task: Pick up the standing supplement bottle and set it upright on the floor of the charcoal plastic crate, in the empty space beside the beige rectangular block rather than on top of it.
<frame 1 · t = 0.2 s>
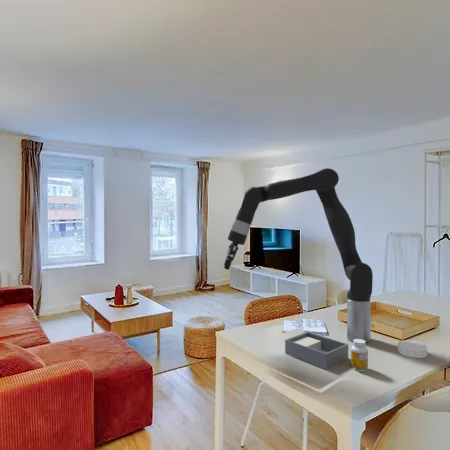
hand: (226, 267, 146), 31 cm above the table, tool tilted 20°, fingers open, 8 cm apart
coaster: (412, 354, 132), on the table
snack bag: (303, 329, 163), on the table
beige rectangular block: (305, 352, 132), point 1 cm above the table, touching crate
crate: (316, 357, 128), on the table
supplement bottle: (359, 369, 119), on the table
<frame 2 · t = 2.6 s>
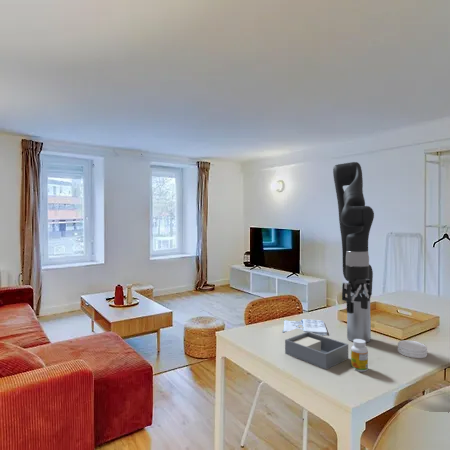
hand: (357, 310, 118), 20 cm above the table, tool pointing down, fingers open, 8 cm apart
nothing on the table moved.
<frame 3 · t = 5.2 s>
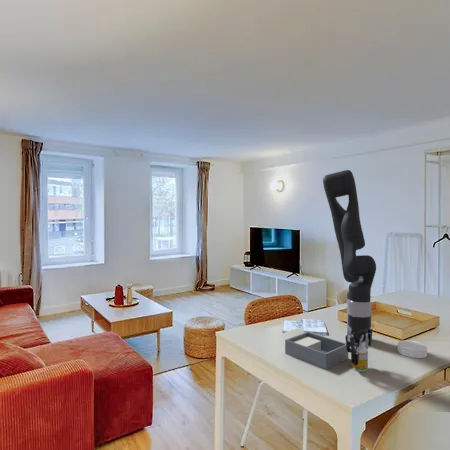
hand: (359, 361, 119), 3 cm above the table, tool pointing down, fingers closed on supplement bottle, 5 cm apart
supplement bottle: (359, 369, 119), on the table, touching gripper
everything else where it was.
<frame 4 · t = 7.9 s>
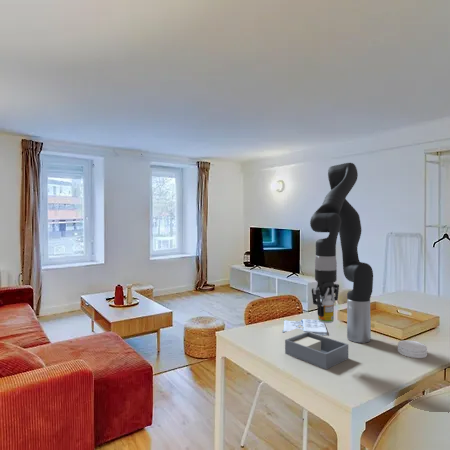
hand: (325, 314, 125), 17 cm above the table, tool pointing down, fingers closed on supplement bottle, 5 cm apart
supplement bottle: (325, 321, 125), point 15 cm above the table, touching gripper
everything else where it was.
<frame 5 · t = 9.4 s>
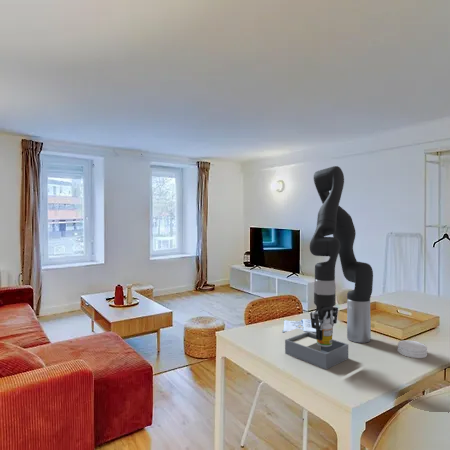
hand: (324, 337, 125), 9 cm above the table, tool pointing down, fingers closed on supplement bottle, 5 cm apart
supplement bottle: (324, 345, 125), point 6 cm above the table, touching gripper
everything else where it was.
when the fingers open (5 cm above the table, at t = 10.7 s): supplement bottle drops 2 cm, resting on crate.
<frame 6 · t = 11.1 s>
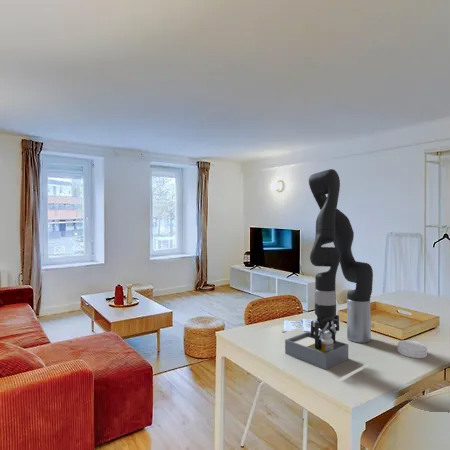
hand: (325, 346, 125), 6 cm above the table, tool pointing down, fingers open, 8 cm apart
supplement bottle: (325, 359, 125), point 1 cm above the table, touching crate
everything else where it was.
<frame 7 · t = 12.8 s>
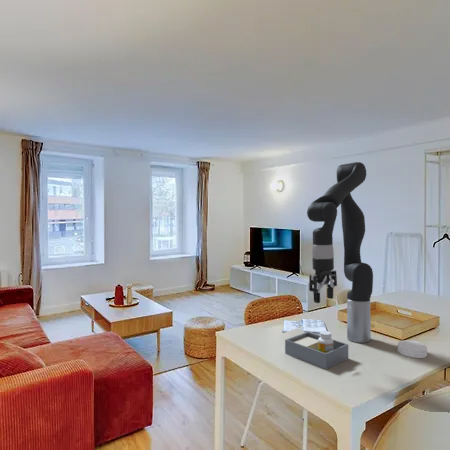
hand: (323, 300, 127), 22 cm above the table, tool pointing down, fingers open, 8 cm apart
nothing on the table moved.
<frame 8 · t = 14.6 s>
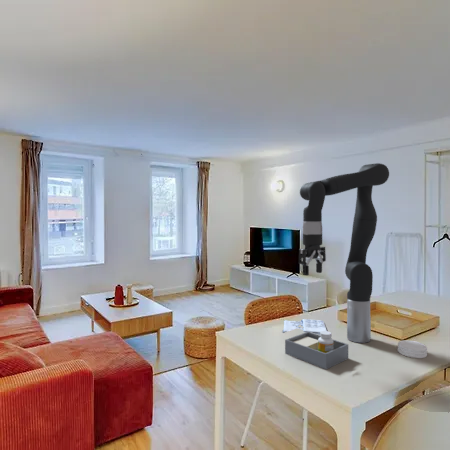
hand: (312, 273, 136), 30 cm above the table, tool pointing down, fingers open, 8 cm apart
nothing on the table moved.
at the end: supplement bottle inside the target area on the crate (0.6 cm from its centre), point 0.6 cm above the crate's base; supplement bottle tilted 0°; beige rectangular block moved 0.0 cm from its start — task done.
